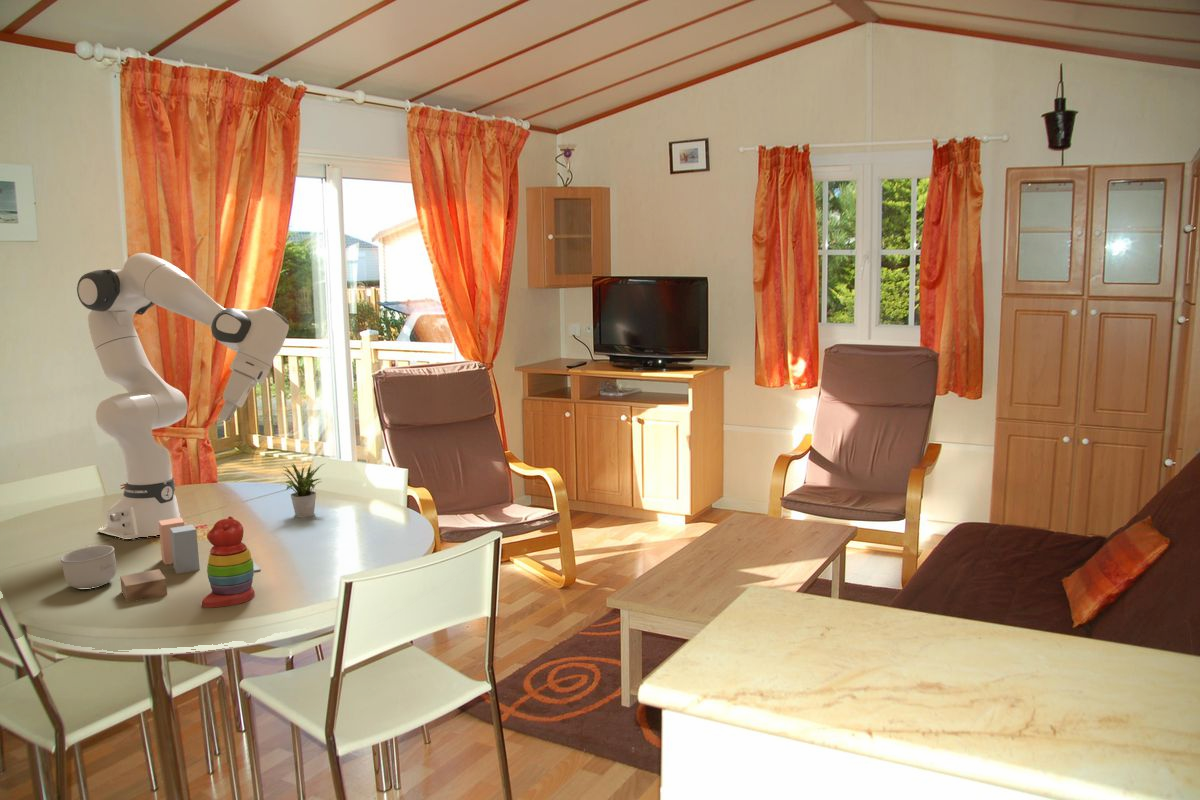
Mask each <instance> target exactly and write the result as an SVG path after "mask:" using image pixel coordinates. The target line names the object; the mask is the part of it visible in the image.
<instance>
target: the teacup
mask: <svg viewBox="0 0 1200 800" xmlns="http://www.w3.org/2000/svg"><path fill="white" fill-rule="evenodd" d="M60 561H61V564H62V565H61V566H62V572H63V575H64V579H65V582H66V583H67V584H68V586H70V587H71V588H75V589H76V588H92V587H97V586H101V585H104V584H106V585H108V584H107V583H108V582H109V583H110V582H111V580H112V579H113V578H114V577H115V575H116V574H117V562H116V561H117V560H116V555H115V547H114V546H112V545H106V544H105V545H104V544H103V545H102V544H101V545H92V544H90V545H86V546H85V547H82V548H77V549H75V550H72V551H69V552H67V553H65V554H63V555H62V556H61V557H60ZM104 586H105V585H104Z"/></svg>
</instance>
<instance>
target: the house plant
mask: <svg viewBox="0 0 1200 800" xmlns="http://www.w3.org/2000/svg"><path fill="white" fill-rule="evenodd" d="M305 460H306V459H305ZM305 460H304V461H303V463H302V467H301V472H300V471H299V470H298V469H297V466H296V464H295V463H293V462H291V463H290V466H291V467H292V469H293V470H294V472H295V476H296V477H295V476H294V474H293V473H292V472H291V471H290V469H289V468H288V467H286V466H285V465H282V464H280V467H283V468H285V469H284V471H285V472H287V473H288V474H289V475H290V476H291V477H292V478H293V480H294V481H295V482H294V481H293V480H292V478H291V477H290V476H289V475H288V474H287V473H284V472H282V474H283V475H285V476H286V477H287V478H288V479H289V480H286V481H285V482H284V485H285V486H287V487H286V489H285V491H287V490H289V489H292V490H293V491H294V492H293V493H291V494H290V498H291V503H292V506H293V511H294V515H295V517H297V516H298V517H297V518H306V517H305V516H308V517H311V515H312V516H314V515H315V507H316V498H317V492H316V491H313V490H314V489H315V486H316V485H317V484H319V483H322V481H321V480H320V478H316V479H315V478H314V479H313V477H314V475H315V474H316V472H317V471H319V469H320V468H321V467H322V466H323V465H325V464H326V463H323V464H320V465H319V466H318V467H316V469H315V468H314V469H313V470H311V468H312V467H311V466H312V465H311V463H309V466H308V468H307V472H306V476H304V470H305V468H306V466H304V463H305ZM319 480H320V481H319ZM317 481H318V482H317ZM315 482H316V483H315ZM314 483H315V484H314ZM281 485H282V484H280V486H281ZM313 514H314V515H313Z"/></svg>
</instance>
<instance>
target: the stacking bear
mask: <svg viewBox="0 0 1200 800" xmlns="http://www.w3.org/2000/svg"><path fill="white" fill-rule="evenodd" d="M243 526H244V525H242V523H241V521H239V520H237V519H234V517H232V516H230V515H229V516H228V517H227V518H224V519H219V520H217V522H215V523H214V525H213V526H212V528H211V530H209V531H208V532H207V533H206V538H207V540H208V542H209V543H210V544H211V545H212V547H211V548H210V551H209V555H208V560H207V561H208V563H207V569H206V570H207V571H206V572H207V578H208V583H209V585H210V588H211V592H210V593H208V594H207V595H206V596H205V597H203V598H202V600H201V607H204V608H221V607H229V606H235V605H238V604H242V603H245V602H248V601H250V600H251V599H253V598H254V597H255V595H256V594H255V590H254V588H253V586H252V585H253V580H254V579H253V578H254V573H255V572H254V568H253V567H254V565H253V563H254V561H253V558H252V555H251V551H250V549H249V547H247V545H246V544H245V542H242V541H243V539H244V538H243V537H244V527H243Z"/></svg>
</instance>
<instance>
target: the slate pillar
mask: <svg viewBox="0 0 1200 800" xmlns="http://www.w3.org/2000/svg"><path fill="white" fill-rule="evenodd" d="M170 533H171V544H172V555H173V564H172V565H173V570H174V569H175V570H174V571H175V573H176V574H177V575H178V573H180V574H184V573H189V572H195V571H200V570H201V569H200V568H201V567H200V558H199V555H200V554H199V545H198V533H197V528H196V527H195V526H194V524H189V525H188V524H187V525H184V526H180V527H174V528H170Z"/></svg>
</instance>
